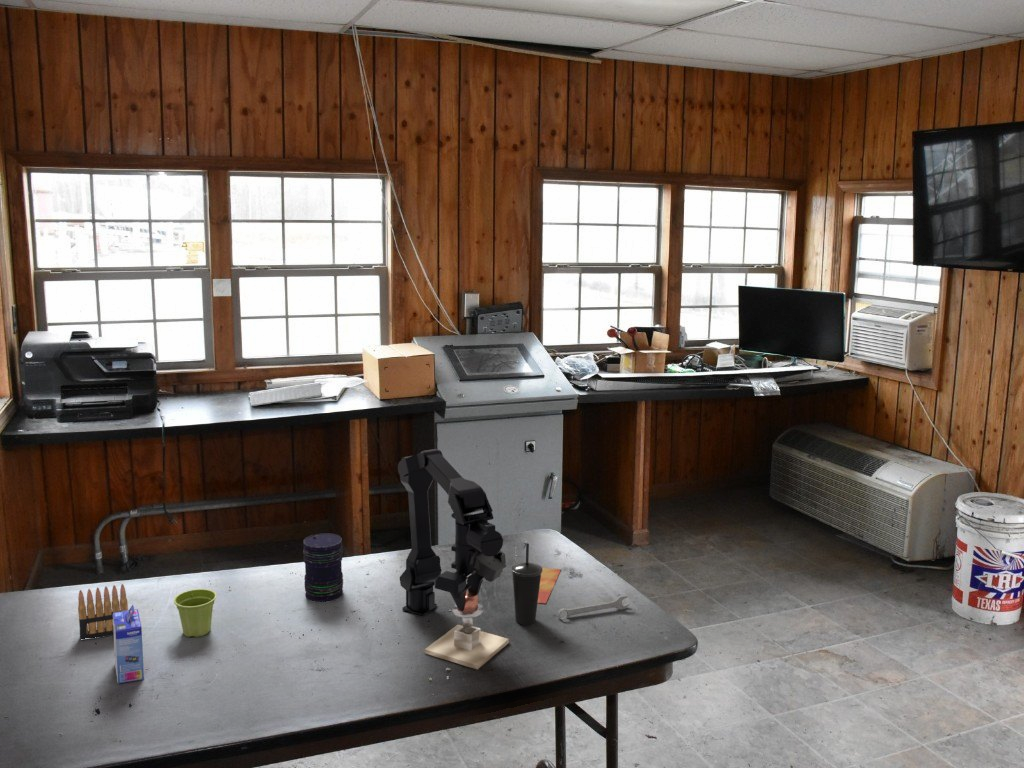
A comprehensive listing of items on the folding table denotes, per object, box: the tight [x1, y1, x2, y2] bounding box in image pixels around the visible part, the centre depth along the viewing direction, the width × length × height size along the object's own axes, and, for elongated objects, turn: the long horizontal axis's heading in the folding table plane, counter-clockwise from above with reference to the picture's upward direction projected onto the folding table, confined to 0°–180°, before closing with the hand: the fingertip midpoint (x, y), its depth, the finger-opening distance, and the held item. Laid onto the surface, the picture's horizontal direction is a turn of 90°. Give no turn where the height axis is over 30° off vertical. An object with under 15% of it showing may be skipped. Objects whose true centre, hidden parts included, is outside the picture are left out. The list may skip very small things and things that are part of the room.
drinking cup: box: [510, 542, 543, 626], centre depth 214 cm, size 8×8×20 cm
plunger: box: [451, 591, 484, 628], centre depth 200 cm, size 7×7×7 cm
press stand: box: [424, 624, 510, 671], centre depth 202 cm, size 14×14×4 cm
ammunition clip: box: [77, 583, 129, 641], centre depth 204 cm, size 11×2×12 cm, turn 114°
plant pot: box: [173, 588, 217, 638], centre depth 207 cm, size 9×9×9 cm
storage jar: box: [302, 532, 344, 603], centre depth 227 cm, size 10×10×15 cm
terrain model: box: [537, 567, 561, 604], centre depth 239 cm, size 25×22×1 cm
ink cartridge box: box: [113, 604, 145, 684], centre depth 188 cm, size 10×6×14 cm, turn 27°
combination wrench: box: [557, 594, 631, 621], centre depth 220 cm, size 4×1×20 cm
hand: (467, 605), depth 200 cm, fingers closed on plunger, 5 cm apart
